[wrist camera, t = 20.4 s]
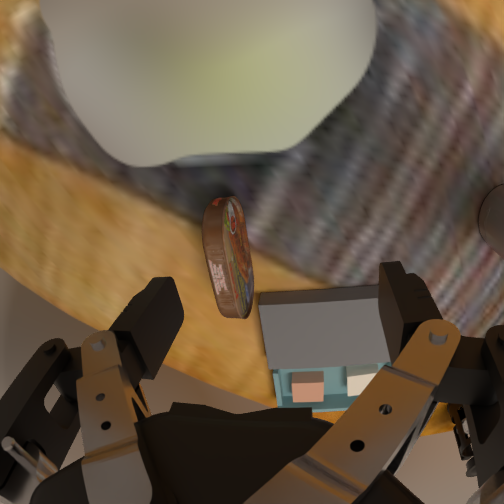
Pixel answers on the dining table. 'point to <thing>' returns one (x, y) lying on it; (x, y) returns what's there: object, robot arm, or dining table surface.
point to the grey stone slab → (322, 328)
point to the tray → (333, 389)
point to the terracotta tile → (308, 386)
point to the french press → (462, 437)
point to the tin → (228, 256)
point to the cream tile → (359, 377)
